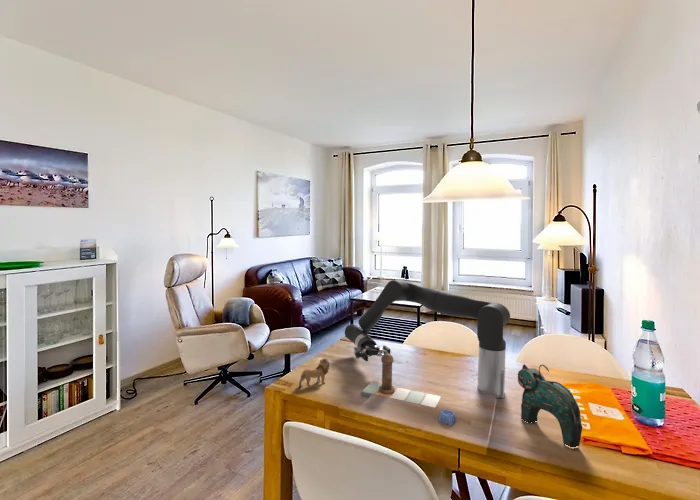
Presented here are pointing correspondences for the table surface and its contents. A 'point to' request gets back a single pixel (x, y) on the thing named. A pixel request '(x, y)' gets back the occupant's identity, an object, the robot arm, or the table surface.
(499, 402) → the table surface
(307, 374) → the lion figurine
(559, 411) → the ceramic cat
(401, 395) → the game board
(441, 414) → the decorative dice
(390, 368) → the pawn
